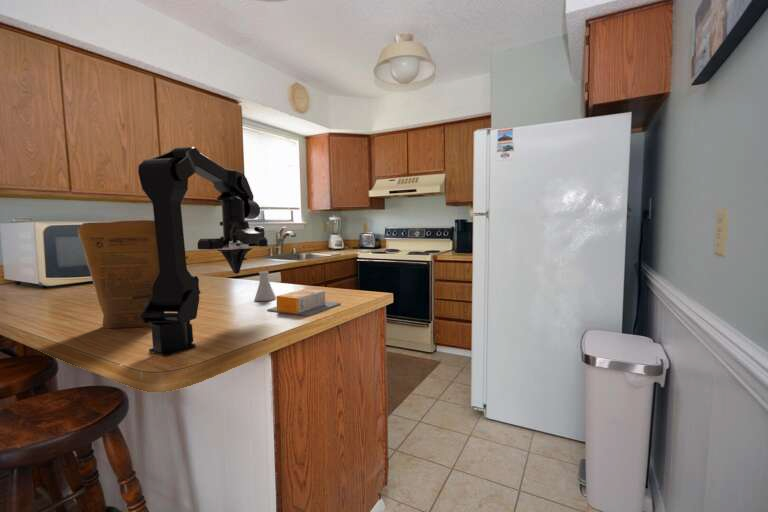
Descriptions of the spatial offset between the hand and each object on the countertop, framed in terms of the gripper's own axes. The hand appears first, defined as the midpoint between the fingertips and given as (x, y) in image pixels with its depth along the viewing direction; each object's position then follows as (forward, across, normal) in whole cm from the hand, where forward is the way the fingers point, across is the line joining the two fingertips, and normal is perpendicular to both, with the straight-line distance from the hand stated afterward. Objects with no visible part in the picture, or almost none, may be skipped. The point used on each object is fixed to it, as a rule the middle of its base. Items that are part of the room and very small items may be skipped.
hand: (236, 273), depth 98 cm
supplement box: (+10, +8, -10) cm, 16 cm away
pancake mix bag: (+13, -18, +19) cm, 29 cm away
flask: (+12, +21, +13) cm, 27 cm away
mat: (+12, +17, -9) cm, 23 cm away
